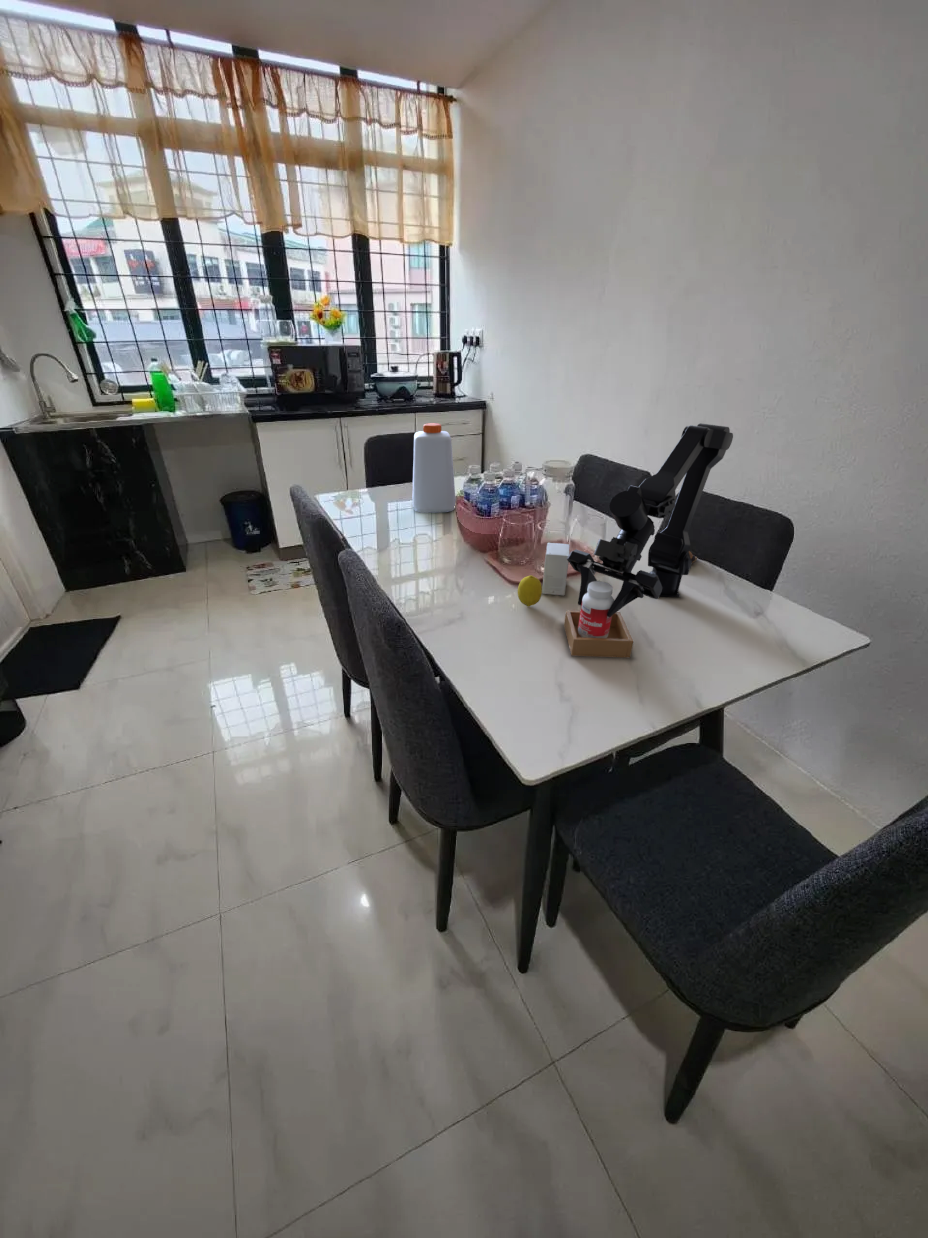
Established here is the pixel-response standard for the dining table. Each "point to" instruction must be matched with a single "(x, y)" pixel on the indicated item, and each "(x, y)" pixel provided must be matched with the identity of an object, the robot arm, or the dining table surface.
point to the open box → (611, 646)
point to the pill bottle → (596, 611)
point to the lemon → (529, 590)
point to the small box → (555, 568)
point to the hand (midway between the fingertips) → (593, 610)
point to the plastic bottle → (433, 470)
